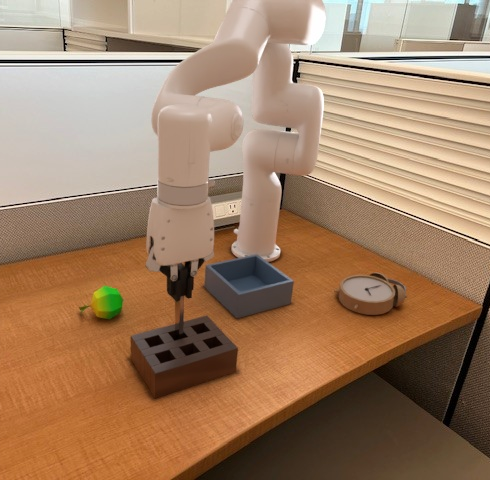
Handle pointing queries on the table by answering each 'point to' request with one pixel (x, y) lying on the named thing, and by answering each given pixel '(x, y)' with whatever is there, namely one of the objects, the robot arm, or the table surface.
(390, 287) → the alarm clock
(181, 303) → the knife
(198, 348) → the block
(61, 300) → the table surface
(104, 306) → the apple
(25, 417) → the table surface
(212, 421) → the table surface
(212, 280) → the bin
